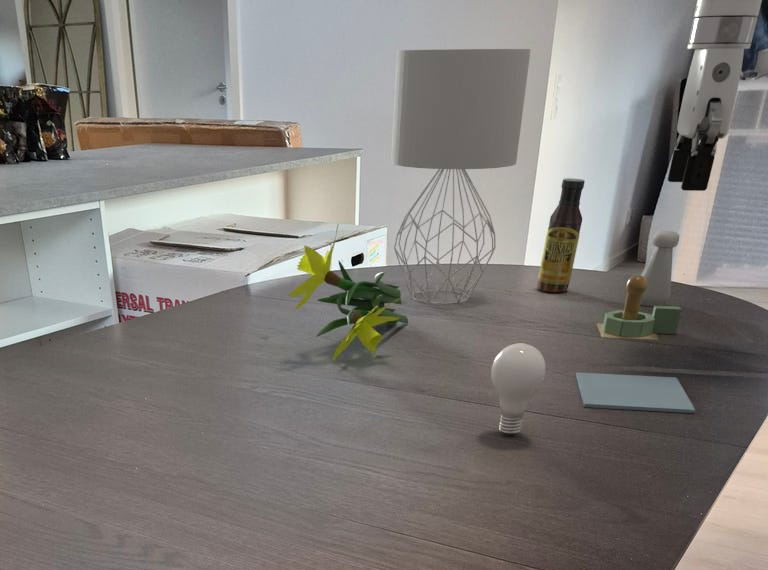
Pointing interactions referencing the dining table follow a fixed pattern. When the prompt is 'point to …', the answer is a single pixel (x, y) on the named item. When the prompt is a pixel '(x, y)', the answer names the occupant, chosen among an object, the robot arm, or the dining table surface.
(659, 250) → the salt shaker
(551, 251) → the sauce bottle
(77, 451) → the dining table surface
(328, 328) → the daffodil flowers
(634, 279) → the peg stand
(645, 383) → the mat
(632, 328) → the ring
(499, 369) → the lightbulb
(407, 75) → the table lamp
